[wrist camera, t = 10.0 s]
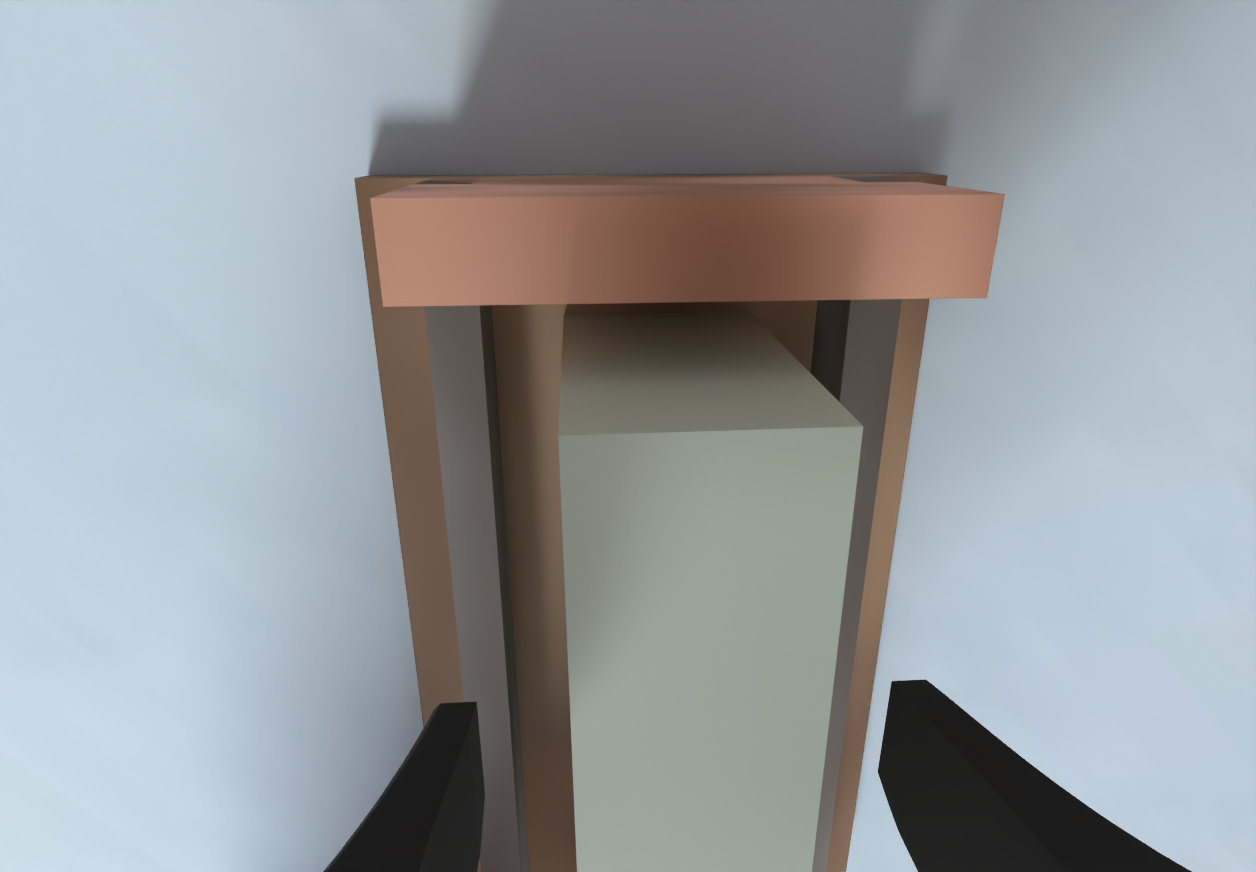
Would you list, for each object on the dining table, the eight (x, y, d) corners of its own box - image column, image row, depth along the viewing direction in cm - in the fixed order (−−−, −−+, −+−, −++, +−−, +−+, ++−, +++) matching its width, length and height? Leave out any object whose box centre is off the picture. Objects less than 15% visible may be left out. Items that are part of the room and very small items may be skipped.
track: (450, 866, 23) (412, 1097, 18) (367, 175, 16) (256, 198, 10) (835, 843, 24) (914, 1056, 19) (926, 172, 17) (1104, 193, 11)
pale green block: (579, 751, 21) (584, 1033, 14) (563, 315, 16) (558, 436, 10) (725, 743, 21) (795, 1017, 14) (748, 310, 17) (863, 426, 10)
